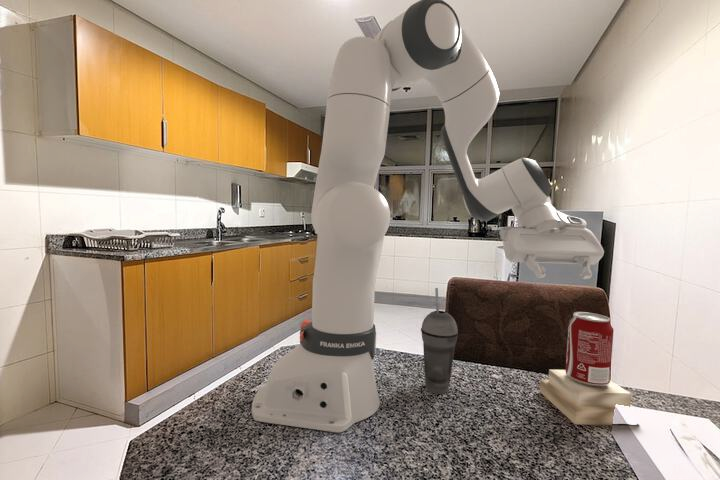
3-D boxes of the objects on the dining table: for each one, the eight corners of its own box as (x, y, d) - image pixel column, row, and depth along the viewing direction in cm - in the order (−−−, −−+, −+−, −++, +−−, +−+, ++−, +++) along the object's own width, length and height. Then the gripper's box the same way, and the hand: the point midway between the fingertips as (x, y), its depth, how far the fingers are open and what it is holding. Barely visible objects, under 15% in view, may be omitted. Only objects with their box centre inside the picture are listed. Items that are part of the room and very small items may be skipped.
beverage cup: (438, 401, 64) (443, 294, 63) (410, 385, 70) (414, 287, 69) (463, 390, 68) (468, 290, 67) (435, 376, 74) (439, 284, 73)
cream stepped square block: (574, 424, 58) (576, 395, 57) (539, 391, 69) (541, 367, 68) (639, 425, 58) (641, 396, 58) (594, 392, 69) (595, 368, 69)
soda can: (617, 392, 59) (622, 322, 58) (573, 386, 60) (577, 319, 60) (599, 375, 66) (603, 312, 65) (560, 370, 67) (563, 309, 66)
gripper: (501, 216, 78) (520, 265, 68) (591, 219, 78) (622, 268, 69) (492, 235, 82) (508, 284, 73) (577, 238, 82) (604, 286, 73)
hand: (564, 276), depth 71 cm, fingers open, 8 cm apart
